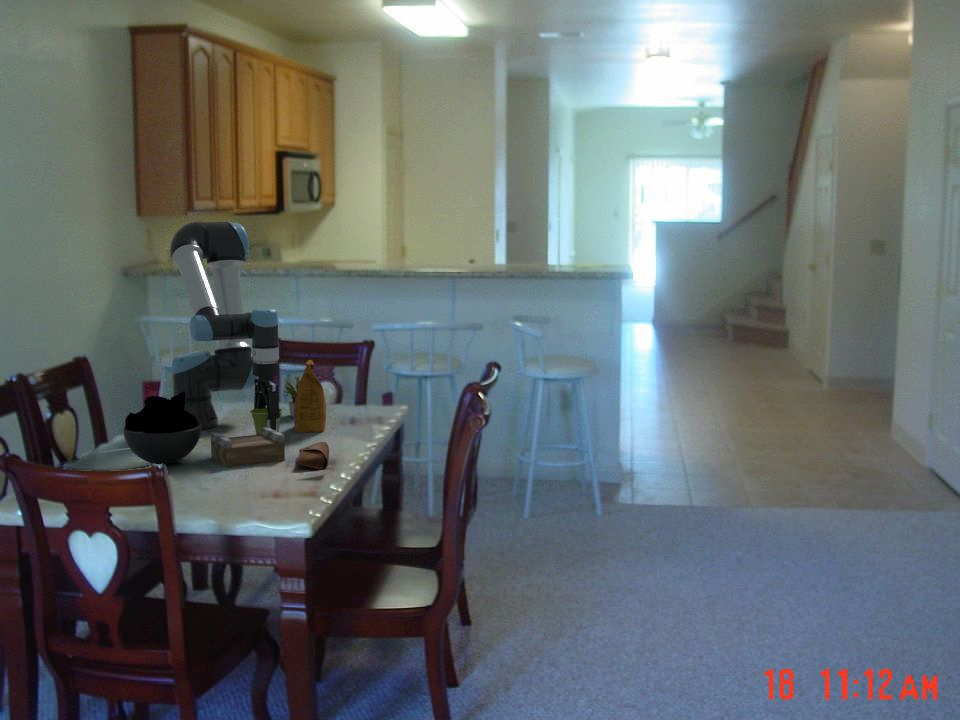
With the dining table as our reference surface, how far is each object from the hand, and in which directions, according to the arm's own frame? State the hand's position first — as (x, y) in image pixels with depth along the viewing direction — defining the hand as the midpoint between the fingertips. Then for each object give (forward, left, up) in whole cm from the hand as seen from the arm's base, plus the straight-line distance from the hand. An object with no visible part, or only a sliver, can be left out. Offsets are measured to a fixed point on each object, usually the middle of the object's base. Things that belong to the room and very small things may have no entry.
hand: (267, 438), depth 299 cm
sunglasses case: (+31, 0, -2) cm, 31 cm away
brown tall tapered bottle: (-10, +17, -2) cm, 20 cm away
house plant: (-29, +22, -1) cm, 36 cm away
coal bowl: (+12, -33, -2) cm, 35 cm away
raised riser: (+18, -12, -1) cm, 22 cm away
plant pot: (0, 0, -1) cm, 1 cm away
